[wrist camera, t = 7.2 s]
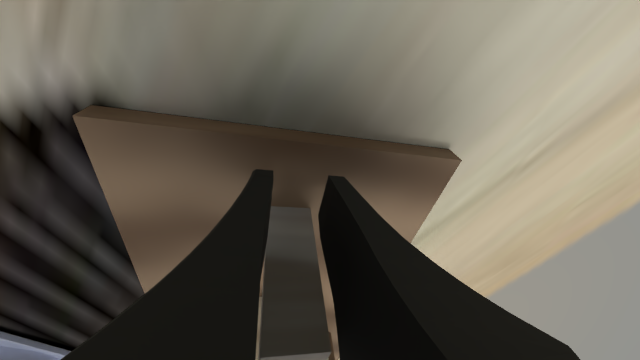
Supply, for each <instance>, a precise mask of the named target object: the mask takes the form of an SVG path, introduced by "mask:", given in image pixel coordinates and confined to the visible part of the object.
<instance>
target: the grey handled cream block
mask: <svg viewBox="0 0 640 360" xmlns="http://www.w3.org/2000/svg"><path fill="white" fill-rule="evenodd" d="M330 354H331V345H330V338H329V332H328V325H327V318H326V311H325V304H324V297H323V291H322V284H321V277H320V270H319V263H318V257H317V250H316V243H315V236H314V229H313V222H312V216H311V209H310V208H296V207H276V206H271V210H270V219H269V229H268V237H267V244H266V250H265V256H264V272H263V289H262V297H259V310H258V326H257V342H256V359H255V360H329V358H328V357H329V356H330Z"/></svg>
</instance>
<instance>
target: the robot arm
mask: <svg viewBox="0 0 640 360" xmlns="http://www.w3.org/2000/svg"><path fill="white" fill-rule="evenodd" d="M272 191H273V170H262V169H255V170H254V171H253V172H252V174H251V176H250V178H249V180H248V182H247V184H246V186H245V187H244V189H243V190H242V192H241V193H240V195H239V196H238V198H237V199H236V201H235V202H234V203H233V205H232V206H231V208H230V209H229V210H228V211H227V213H226V214H225V215H224V216H223V217H222V219H221V220H220V221H219V222H218V224H217V225H216V226H215V227H214V228H213V229H212V231H211V232H210V233H209V234H208V235H207V236H206V237H205V238H204V239H203V240H202V241H201V242H200V243H199V244H198V246H197V247H196V248H195V249H194V250H193V251H192V252H191V253H190V254H189V255H188V256H186V257H185V258H184V259H183V260H182V261H181V262H180V263H179V264H178V265H177V266H176V267H175V268H174V269H173V270H172V271H171V272H169V273H168V274H167V275H166V276H165V277H164V278H163V279H162V280H160V281H159V282H158V283H157V284H156V285H155V286H154V287H152V288H151V289H150V290H149V291H148V292H146V293H145V294H144V295H143V296H141V297H140V298H139V299H138V300H137V301H135V302H134V303H133V304H132V305H130V306H129V307H128V308H127V309H126V310H124V311H123V312H122V313H121V314H119V315H118V316H117V317H116V318H115V319H113V320H112V321H111V322H110V323H108V324H107V325H106V326H105V327H103V328H102V329H101V330H99V331H98V332H97V333H95V334H94V335H93V336H92V337H90V338H89V339H87V340H86V341H85V342H83V343H82V344H81V345H79V346H78V347H77V348H75V349H74V350H73V351H69V350H66V349H62V348H59V347H55V346H52V345H48V344H44V343H41V342H37V341H34V340H30V339H27V338H23V337H20V336H16V335H12V334H9V333H5V332H2V331H0V360H255V359H256V342H257V326H258V310H259V293H260V281H261V275H262V269H263V262H264V256H265V250H266V244H267V237H268V229H269V219H270V210H271V200H272ZM318 220H319V232H320V240H321V245H322V250H323V255H324V259H325V264H326V269H327V273H328V278H329V282H330V287H331V292H332V297H333V303H334V310H335V319H336V327H337V336H338V346H339V356H340V360H580V359H579V357H578V356H577V355H576V354H575V353H574V352H573V350H572V349H571V348H570V347H569V346H568V345H566V344H564V343H562V342H560V341H559V340H557V339H555V338H553V337H551V336H550V335H548V334H546V333H544V332H543V331H541V330H539V329H537V328H536V327H534V326H532V325H530V324H528V323H526V322H525V321H523V320H521V319H520V318H518V317H516V316H514V315H512V314H511V313H509V312H507V311H506V310H504V309H503V308H501V307H499V306H498V305H496V304H495V303H493V302H491V301H490V300H488V299H487V298H485V297H483V296H482V295H480V294H479V293H477V292H476V291H474V290H473V289H471V288H470V287H468V286H467V285H465V284H464V283H462V282H461V281H459V280H458V279H456V278H455V277H454V276H452V275H451V274H449V273H448V272H447V271H445V270H444V269H442V268H441V267H440V266H438V265H437V264H436V263H434V262H433V261H432V260H430V259H429V258H428V257H426V256H425V255H424V254H423V253H422V252H420V251H419V250H418V249H417V248H415V247H414V246H413V245H412V244H411V243H409V242H408V241H407V240H406V239H405V238H404V237H402V236H401V235H400V234H399V233H398V232H397V231H396V230H395V229H394V228H393V227H392V226H391V225H390V224H388V223H387V222H386V221H385V220H384V219H383V218H382V217H381V216H380V215H379V214H378V213H377V212H376V211H375V210H374V208H373V207H372V206H371V205H370V204H369V203H368V202H367V201H366V200H365V199H364V198H363V197H362V196H361V195H360V193H359V192H358V191H357V190H356V189H355V188H354V187H353V186H352V185H351V184H350V182H349V181H348V180H347V179H346V178H345V177H343V176H331V175H328V179H327V183H326V186H325V190H324V194H323V198H322V202H321V205H320V209H319V213H318Z"/></svg>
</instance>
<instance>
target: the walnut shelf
mask: <svg viewBox="0 0 640 360" xmlns="http://www.w3.org/2000/svg"><path fill="white" fill-rule="evenodd" d="M73 119H74V121H75V123H76V126H77V128H78V131H79V133H80V136H81V138H82V141H83V143H84V146H85V148H86V151H87V153H88V155H89V158H90V160H91V163H92V165H93V168H94V170H95V173H96V175H97V178H98V180H99V182H100V185H101V187H102V190H103V192H104V195H105V197H106V200H107V202H108V205H109V207H110V210H111V212H112V214H113V217H114V219H115V222H116V224H117V227H118V229H119V232H120V234H121V237H122V239H123V242H124V244H125V246H126V249H127V251H128V254H129V256H130V259H131V261H132V264H133V266H134V269H135V271H136V273H137V276H138V278H139V281H140V283H141V286H142V288H143V291H144V293H146V292H148V291H149V290H150V289H151V288H152V287H154V286H155V285H156V284H157V283H158V282H159V281H160V280H162V279H163V278H164V277H165V276H166V275H167V274H168V273H169V272H171V271H172V270H173V269H174V268H175V267H176V266H177V265H178V264H179V263H180V262H181V261H182V260H183V259H184V258H185V257H186V256H188V255H189V254H190V253H191V252H192V251H193V250H194V249H195V248H196V247H197V246H198V244H199V243H200V242H201V241H202V240H203V239H204V238H205V237H206V236H207V235H208V234H209V233H210V232H211V231H212V229H213V228H214V227H215V226H216V225H217V224H218V222H219V221H220V220H221V219H222V217H223V216H224V215H225V214H226V213H227V211H228V210H229V209H230V208H231V206H232V205H233V203H234V202H235V201H236V199H237V198H238V196H239V195H240V193H241V192H242V190H243V189H244V187H245V186H246V184H247V182H248V180H249V178H250V176H251V174H252V172H253V171H254V170H255V169H262V170H273V191H272V200H271V206H276V207H296V208H310V209H311V216H312V222H313V229H314V236H315V243H316V250H317V257H318V263H319V270H320V277H321V284H322V291H323V297H324V304H325V311H326V318H327V325H328V332H329V338H330V345H331V354H330V356H329V357H328V358H329V360H338V359H339V357H340V356H339V346H338V336H337V327H336V319H335V310H334V303H333V297H332V292H331V287H330V282H329V278H328V273H327V269H326V264H325V259H324V255H323V250H322V245H321V240H320V232H319V220H318V213H319V209H320V205H321V202H322V198H323V194H324V190H325V186H326V183H327V179H328V175H331V176H343V177H345V178H346V179H347V180H348V181H349V182H350V184H351V185H352V186H353V187H354V188H355V189H356V190H357V191H358V192H359V193H360V195H361V196H362V197H363V198H364V199H365V200H366V201H367V202H368V203H369V204H370V205H371V206H372V207H373V208H374V210H375V211H376V212H377V213H378V214H379V215H380V216H381V217H382V218H383V219H384V220H385V221H386V222H387V223H388V224H390V225H391V226H392V227H393V228H394V229H395V230H396V231H397V232H398V233H399V234H400V235H401V236H402V237H404V238H405V239H406V240H407V241H408V242H409V243H411V241H412V240H413V238H414V236H415V235H416V233H417V232H418V230H419V228H420V227H421V225H422V224H423V222H424V220H425V219H426V217H427V216H428V214H429V212H430V211H431V209H432V207H433V206H434V204H435V203H436V201H437V199H438V198H439V196H440V195H441V193H442V191H443V190H444V188H445V187H446V185H447V183H448V182H449V180H450V178H451V177H452V175H453V174H454V172H455V170H456V169H457V167H458V166H459V164H460V162H461V161H462V160H461V159H460V158H459V157H457V156H456V155H455V154H454V153H453V152H452V151H451V150H449V149H441V148H433V147H425V146H417V145H408V144H400V143H392V142H384V141H376V140H368V139H360V138H352V137H344V136H336V135H328V134H320V133H312V132H304V131H296V130H288V129H280V128H272V127H264V126H256V125H248V124H240V123H232V122H224V121H216V120H208V119H200V118H192V117H184V116H176V115H168V114H160V113H152V112H144V111H136V110H128V109H120V108H112V107H104V106H96V105H90V106H89V107H87V108H85V109H83V110H81V111H80V112H78V113H76V114H74V115H73ZM263 272H264V262H263V269H262V275H261V281H260V293H259V297H262V289H263Z"/></svg>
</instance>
